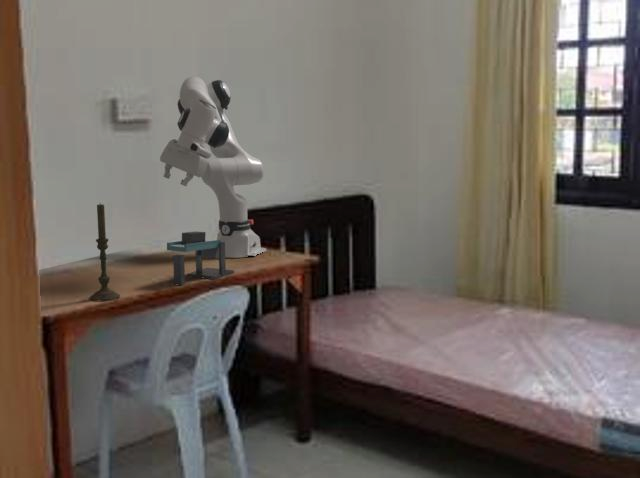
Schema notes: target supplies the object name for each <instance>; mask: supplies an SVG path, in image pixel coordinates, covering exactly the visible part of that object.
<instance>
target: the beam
mask: <svg viewBox="0 0 640 478" xmlns="http://www.w3.org/2000/svg"><path fill="white" fill-rule="evenodd" d="M220 242H221V240H217V239H214V240H207V241H206V240H205V242H198V243H191V244H184V245H182V240H179V241H168V242H166V251H171V252H172V251H173V252H182V253H183V252H184V253H189V252H196V251H197V250H201V257H202V258H205V259H206V258H207V259H219V243H220Z"/></svg>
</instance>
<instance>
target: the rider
mask: <svg viewBox="0 0 640 478" xmlns="http://www.w3.org/2000/svg"><path fill="white" fill-rule="evenodd" d="M181 241H182V245H184V244H191V243H198V242H205V241H206V232H205V231H187V232H186V231H185V232H181Z"/></svg>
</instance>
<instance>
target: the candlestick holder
mask: <svg viewBox="0 0 640 478" xmlns="http://www.w3.org/2000/svg"><path fill="white" fill-rule="evenodd" d="M96 211H97V215H96V216H97V233H98V235H97V236H98V238H96V239H95V242H96V243H97V244H96V247H97V250H99V251H100V253H99V260H100V269H101V272H100V273H101V274H100V276H99V277H98V283H99V284H100V286H101V287H100V288H99V290H97V291H95V292H94V293H93V294H91V295H90V296H89V300H91V301H93V300H101V301H100V302H103V301H102V300H111V299H115V298H118V297H119V296H120V297H121V295H120V293H117V292H116V291H115V290H113V289H110V288H109V285H108V284H109V283H110V279H111V277H110V276H109V275H108V274H107V264H106V263H107V262H106V261H107V252H106V250H107V249H108V247H109V245H108V242H109V238H107V235H106V233H107V232H106V214H105V213H106V212H105V204H101V202H99V204H96ZM118 299H119V298H118ZM111 301H112V300H111Z"/></svg>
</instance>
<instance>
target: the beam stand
mask: <svg viewBox="0 0 640 478" xmlns="http://www.w3.org/2000/svg"><path fill="white" fill-rule="evenodd" d="M172 260H173V261H172V265H173V285H174V284H178V285H177V286H181V285H182V286H184V285H183V284H185V285H186V278H185V277H188V276H192V277H191V278H197V277H204V278H203V279H206V278H210V279H209V280H217V279H220V278H223V277H227V276H230V275H233V274H235V270H234V269H233V270H232V269H227V268H226V257H225V242H220V243H219V258H218V266H219V267H218V268H214V267H205V268H203V257H201V250H197V251H195V270H194V271H191V272H188V273H186V269H185V254H174V255H172ZM185 273H186V274H187V275H185Z"/></svg>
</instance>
